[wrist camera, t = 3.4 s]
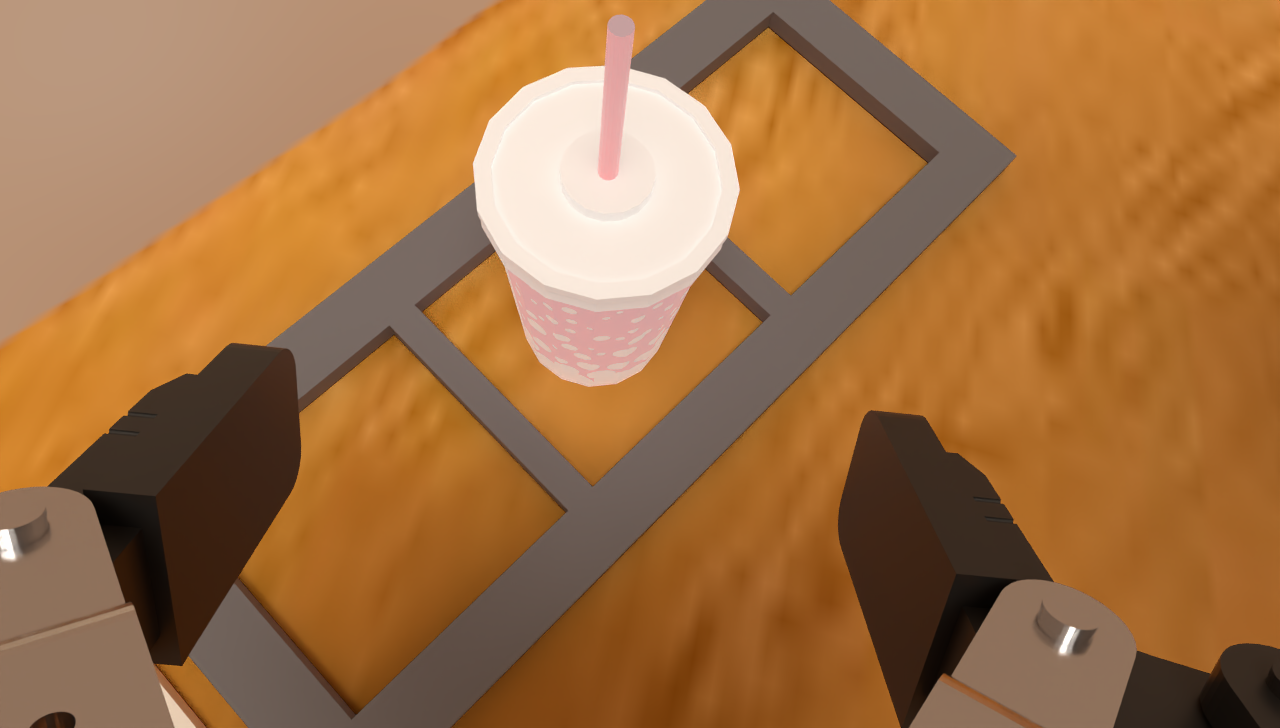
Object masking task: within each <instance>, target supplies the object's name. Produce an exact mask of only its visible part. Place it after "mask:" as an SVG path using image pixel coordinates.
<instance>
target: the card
mask: <svg viewBox="0 0 1280 728" xmlns="http://www.w3.org/2000/svg"><path fill="white" fill-rule="evenodd" d="M153 665H154V668H155V671H156V674H157V677H158V680H159V683H160V686H161V689H162V692H163V695H164V698H165V701H166V703H167V706H168V709H169V712H170V715H171V718H172V721H173V724H174V727H175V728H206V727H205V725H204V724H203V723H202V722H201V720H200V719H199V718H198V717H197V716H196V714H195V713H194V712H193V711H192V709H191V708H190V707H189V706H188V705H187V703H186V702H185V701H184V700H183V699H182V697H181V696H180V695H179V694H178V692H177V691H176V690H175V689H174V688H173V686H172V685H171V684H170V683H169V681H168V680H167V679H166V678H165V677H164V675H163V674H162V673H161V672H160V670H159V669H158V668H157V667H156V666H155V664H154V663H153Z"/></svg>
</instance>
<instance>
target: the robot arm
mask: <svg viewBox="0 0 1280 728" xmlns="http://www.w3.org/2000/svg"><path fill="white" fill-rule="evenodd" d="M300 459H301V438H300V422H299V407H298V392H297V376H296V364H295V359H294V356H293V354H292V352H291V351H290V350H289V349H287V348H277V347H267V346H258V345H248V344H238V343H231V344H229V345H228V346H226V347H225V348H224V349H223V350H222V351H221V352H220V353H219V354H218V355H217V356H216V357H215V358H214V359H213V360H212V361H211V362H210V363H209V364H208V365H207V366H206V367H205V368H204V369H203V370H202V371H201V372H200V373H199V374H198V375H194V374H185V375H183V376H180V377H178V378H176V379H174V380H172V381H170V382H168V383H165V384H163V385H161V386H159V387H157V388H155V389H153V390H151V391H150V392H149V393H147V394H146V395H145V396H144V397H143V398H142V399H141V400H140V401H139V402H138V403H137V404H136V405H135V406H133V407H132V408H131V409H130V410H129V411H128V416H123V417H122V418H121V419H119V420H118V421H117V422H116V423H115V424H114V425H113V426H112V427H111V428H110V429H109V434H105V433H104V434H103V435H102V436H101V437H100V438H99V439H98V440H97V441H96V442H95V443H94V444H93V445H91V446H90V447H89V448H88V449H87V450H86V451H85V452H84V453H83V454H82V455H81V456H80V457H79V458H77V459H76V460H75V461H74V462H73V463H72V464H71V465H70V466H69V467H68V468H67V469H66V470H65V471H63V472H62V473H61V474H60V475H59V476H58V477H57V478H56V479H55V480H54V481H53V482H52V483H51V484H49V485H48V486H47V487H30V488H21V489H15V490H10V491H5V492H1V493H0V728H175V727H174V724H173V721H172V718H171V715H170V712H169V709H168V706H167V703H166V701H165V698H164V695H163V692H162V689H161V686H160V683H159V680H158V677H157V674H156V671H155V668H154V665H153V663H154V664H166V665H178V666H182V665H183V664H184V662H185V660H186V659H187V657H188V656H189V654H190V652H191V651H192V649H193V648H194V646H195V645H196V643H197V641H198V640H199V638H200V637H201V635H202V633H203V632H204V630H205V629H206V627H207V625H208V624H209V622H210V621H211V619H212V617H213V616H214V614H215V613H216V611H217V609H218V608H219V606H220V605H221V603H222V601H223V600H224V598H225V597H226V595H227V593H228V592H229V590H230V589H231V587H232V585H233V584H234V582H235V581H236V579H237V577H238V576H239V574H240V573H241V571H242V570H243V568H244V566H245V565H246V563H247V562H248V560H249V558H250V557H251V555H252V554H253V552H254V550H255V549H256V547H257V546H258V544H259V542H260V541H261V539H262V538H263V536H264V534H265V533H266V531H267V530H268V528H269V526H270V525H271V523H272V522H273V520H274V518H275V517H276V515H277V514H278V512H279V510H280V509H281V507H282V506H283V504H284V503H285V501H286V499H287V498H288V496H289V495H290V493H291V491H292V489H293V487H294V485H295V482H296V479H297V475H298V471H299V466H300ZM1000 500H1001V499H1000V497H999V496H998V494H997V493H996V491H995V490H994V488H993V487H992V485H991V483H990V482H989V480H988V479H987V477H986V476H985V475H984V474H983V473H982V472H980V471H979V470H978V469H977V468H975V467H974V466H973V465H972V464H970V463H969V462H968V461H967V460H965V459H964V458H963V457H962V456H960V455H959V454H958V453H948V452H946V451H945V450H944V448H943V446H942V445H941V443H940V441H939V440H938V438H937V436H936V435H935V433H934V431H933V430H932V428H931V426H930V424H929V423H928V421H927V420H926V418H925V417H923V416H920V415H911V414H901V413H892V412H882V411H872V410H871V411H869V412H868V413H867V414H866V415H865V417H864V419H863V421H862V424H861V427H860V431H859V434H858V438H857V442H856V446H855V449H854V453H853V457H852V461H851V464H850V468H849V472H848V476H847V479H846V483H845V487H844V491H843V494H842V498H841V502H840V508H839V517H838V532H839V540H840V545H841V548H842V551H843V554H844V557H845V560H846V563H847V566H848V569H849V572H850V575H851V578H852V581H853V584H854V587H855V591H856V594H857V597H858V600H859V603H860V606H861V609H862V612H863V615H864V618H865V621H866V624H867V627H868V630H869V633H870V636H871V639H872V642H873V645H874V648H875V651H876V654H877V657H878V660H879V663H880V666H881V669H882V672H883V675H884V678H885V681H886V684H887V687H888V690H889V693H890V696H891V699H892V702H893V705H894V708H895V711H896V714H897V717H898V720H899V723H900V726H901V728H1280V649H1277V648H1274V647H1270V646H1265V645H1260V644H1249V643H1246V644H1237V645H1233V646H1230V647H1229V648H1227V649H1226V650H1225V651H1224V652H1223V653H1222V655H1221V656H1220V658H1219V660H1218V662H1217V664H1216V666H1215V667H1214V669H1213V671H1212V673H1211V674H1209V673H1206V672H1203V671H1200V670H1196V669H1193V668H1190V667H1187V666H1183V665H1180V664H1177V663H1174V662H1170V661H1167V660H1164V659H1161V658H1157V657H1154V656H1151V655H1148V654H1145V653H1142V652H1140V651H1137V648H1136V642H1135V640H1134V638H1133V635H1132V633H1131V632H1130V630H1129V629H1128V627H1127V626H1126V625H1125V624H1124V623H1123V621H1122V620H1121V619H1120V618H1119V617H1118V616H1117V615H1116V614H1114V613H1113V612H1112V611H1111V610H1110V609H1108V608H1107V607H1106V606H1104V605H1103V604H1102V603H1100V602H1099V601H1097V600H1095V599H1094V598H1092V597H1090V596H1088V595H1086V594H1084V593H1082V592H1080V591H1078V590H1076V589H1073V588H1071V587H1068V586H1065V585H1062V584H1059V583H1055V582H1054V581H1053V580H1052V578H1051V577H1050V575H1049V574H1048V572H1047V570H1046V569H1045V567H1044V566H1043V564H1042V563H1041V561H1040V560H1039V558H1038V556H1037V555H1036V553H1035V552H1034V550H1033V549H1032V547H1031V546H1030V544H1029V543H1028V541H1027V539H1026V538H1025V536H1024V535H1023V533H1022V532H1021V530H1020V529H1019V527H1018V525H1017V524H1013V518H1012V516H1011V515H1010V513H1009V511H1008V510H1007V508H1006V507H1005V505H1004V504H1000Z"/></svg>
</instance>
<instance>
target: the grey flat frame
mask: <svg viewBox="0 0 1280 728" xmlns="http://www.w3.org/2000/svg"><path fill="white" fill-rule="evenodd" d="M768 27H769V28H771V29H772V30H773V31H774V32H775V33H776V34H778V35H779V36H780V37H781V38H782V39H783V40H785V41H786V42H787V43H788V44H789V45H790V46H792V47H793V48H794V49H795V50H796V51H798V52H799V53H800V54H801V55H802V56H803V57H805V58H806V59H807V60H808V61H809V62H810V63H812V64H813V65H814V66H815V67H816V68H818V69H819V70H820V71H821V72H822V73H823V74H825V75H826V76H827V77H828V78H829V79H830V80H832V81H833V82H834V83H835V84H836V85H838V86H839V87H840V88H841V89H842V90H843V91H845V92H846V93H847V94H848V95H849V96H850V97H852V98H853V99H854V100H855V101H856V102H857V103H859V104H860V105H861V106H862V107H863V108H865V109H866V110H867V111H868V112H869V113H870V114H872V115H873V116H874V117H875V118H876V119H877V120H879V121H880V122H881V123H882V124H883V125H885V126H886V127H887V128H888V129H889V130H890V131H892V132H893V133H894V134H895V135H896V136H897V137H899V138H900V139H901V140H902V141H903V142H905V143H906V144H907V145H908V146H909V147H910V148H912V149H913V150H914V151H915V152H916V153H917V154H919V155H920V156H921V157H922V158H923V159H924V160H926V161H927V162H928V164H927V165H926V166H925V167H924V168H923V169H922V170H921V171H920V172H919V173H918V174H917V175H916V176H915V177H914V178H913V179H911V180H910V181H909V182H908V183H907V184H906V185H905V186H904V187H903V188H902V189H901V190H900V191H899V192H898V193H897V194H896V195H895V196H894V197H893V198H892V199H891V200H890V201H889V202H888V203H887V204H886V205H885V206H883V207H882V208H881V209H880V210H879V211H878V212H877V213H876V214H875V215H874V216H873V217H872V218H871V219H870V220H869V221H868V222H867V223H866V224H865V225H864V226H863V227H862V228H861V229H860V230H859V231H858V232H857V233H855V234H854V235H853V236H852V237H851V238H850V239H849V240H848V241H847V242H846V243H845V244H844V245H843V246H842V247H841V248H840V249H839V250H838V251H837V252H836V253H835V254H834V255H833V256H832V257H831V258H830V259H829V260H827V261H826V262H825V263H824V264H823V265H822V266H821V267H820V268H819V269H818V270H817V271H816V272H815V273H814V274H813V275H812V276H811V277H810V278H809V279H808V280H807V281H806V282H805V283H804V284H803V285H802V286H801V287H800V288H798V289H797V290H796V291H795V292H794V293H793V294H792V295H790V294H788V293H787V292H786V291H785V290H784V289H783V288H782V287H781V286H780V285H779V284H778V283H776V282H775V281H774V280H773V279H772V278H771V277H770V276H769V275H768V274H767V273H766V272H764V271H763V270H762V269H761V268H760V267H759V266H758V265H757V264H756V263H755V262H754V261H752V260H751V259H750V258H749V257H748V256H747V255H746V254H745V253H744V252H743V251H742V250H740V249H739V248H738V247H737V246H736V245H735V244H734V243H733V242H732V241H731V240H730V239H728V238H727V239H726V240H725V242H724V243H723V244H722V247H721V250H720V251H719V252H718V253H717V255H716V256H715V257H714V258H713V259H712V261H711V262H710V263H709V264H708V265H707V267H706V268H705V269H706V270H708V271H709V272H710V273H711V274H712V275H713V276H714V277H715V278H716V279H717V280H718V281H719V282H720V283H721V284H723V285H724V286H725V287H726V288H727V289H728V290H729V291H730V292H731V293H732V294H733V295H734V296H735V297H737V298H738V299H739V300H740V301H741V302H742V303H743V304H744V305H745V306H746V307H747V308H748V309H749V310H750V311H752V312H753V313H754V314H755V315H756V316H757V317H758V318H759V319H760V320H761V321H762V322H763V323H762V324H761V325H760V326H759V327H758V328H757V329H756V330H755V331H754V332H753V333H752V334H751V335H750V336H749V337H748V338H747V339H746V340H745V341H744V342H742V343H741V344H740V345H739V346H738V347H737V348H736V349H735V350H734V351H733V352H732V353H731V354H730V355H729V356H728V357H727V358H726V359H725V360H724V361H723V362H722V363H721V364H720V365H719V366H718V367H717V368H716V369H714V370H713V371H712V372H711V373H710V374H709V375H708V376H707V377H706V378H705V379H704V380H703V381H702V382H701V383H700V384H699V385H698V386H697V387H696V388H695V389H694V390H693V391H692V392H691V393H690V394H689V395H688V396H686V397H685V398H684V399H683V400H682V401H681V402H680V403H679V404H678V405H677V406H676V407H675V408H674V409H673V410H672V411H671V412H670V413H669V414H668V415H667V416H666V417H665V418H664V419H663V420H662V421H661V422H660V423H658V424H657V425H656V426H655V427H654V428H653V429H652V430H651V431H650V432H649V433H648V434H647V435H646V436H645V437H644V438H643V439H642V440H641V441H640V442H639V443H638V444H637V445H636V446H635V447H634V448H633V449H632V450H630V451H629V452H628V453H627V454H626V455H625V456H624V457H623V458H622V459H621V460H620V461H619V462H618V463H617V464H616V465H615V466H614V467H613V468H612V469H611V470H610V471H609V472H608V473H607V474H606V475H605V476H604V477H602V478H601V479H600V480H599V481H598V482H597V483H596V484H595V485H594V486H593V487H592V486H591V485H590V484H589V483H588V482H587V481H586V480H585V479H584V477H583V476H582V475H581V474H580V473H579V472H578V471H577V470H576V469H575V468H574V467H573V466H572V465H571V464H570V463H569V462H568V461H567V460H566V459H565V458H564V457H563V456H562V455H561V454H560V453H559V452H558V451H557V450H556V449H555V448H554V447H553V446H552V445H551V444H550V443H549V442H548V441H547V440H546V439H545V438H544V437H543V436H542V435H541V434H540V433H539V432H538V431H537V429H536V428H535V427H534V426H533V425H532V424H531V423H530V422H529V421H528V420H527V419H526V418H525V417H524V416H523V415H522V414H521V413H520V412H519V411H518V410H517V409H516V408H515V407H514V406H513V405H512V404H511V403H510V402H509V401H508V400H507V399H506V398H505V397H504V396H503V395H502V394H501V393H500V392H499V391H498V390H497V389H496V388H495V387H494V386H493V385H492V384H491V383H490V381H489V380H488V379H487V378H486V377H485V376H484V375H483V374H482V373H481V372H480V371H479V370H478V369H477V368H476V367H475V366H474V365H473V364H472V363H471V362H470V361H469V360H468V359H467V358H466V357H465V356H464V355H463V354H462V353H461V352H460V351H459V350H458V349H457V348H456V347H455V346H454V345H453V344H452V343H451V342H450V341H449V340H448V339H447V338H446V337H445V336H444V335H443V333H442V332H441V331H440V330H439V329H438V328H437V327H436V326H435V325H434V324H433V323H432V322H431V321H430V320H429V319H428V318H427V317H426V316H425V315H424V314H423V313H422V311H423V310H424V309H426V308H427V307H428V306H429V305H431V304H432V303H433V302H434V301H435V300H437V299H438V298H439V297H440V296H441V295H443V294H444V293H445V292H446V291H448V290H449V289H450V288H451V287H452V286H454V285H455V284H456V283H457V282H459V281H460V280H461V279H462V278H463V277H465V276H466V275H467V274H468V273H469V272H471V271H472V270H473V269H474V268H476V267H477V266H478V265H479V264H480V263H482V262H483V261H484V260H485V259H486V258H488V257H489V256H490V255H491V254H493V253H494V252H495V249H494V247H493V245H492V244H491V242H490V240H489V238H488V237H487V235H486V233H485V231H484V230H483V228H482V226H481V220H480V218H479V217H478V212H477V204H476V192H475V182H474V183H473V184H472V185H470V186H469V187H468V188H466V189H465V190H464V191H463V192H461V193H460V194H459V195H458V196H456V197H455V198H454V199H452V200H451V201H450V202H449V203H447V204H446V205H445V206H444V207H442V208H441V209H440V210H438V211H437V212H436V213H435V214H433V215H432V216H431V217H430V218H428V219H427V220H426V221H424V222H423V223H422V224H421V225H419V226H418V227H417V228H416V229H414V230H413V231H412V232H410V233H409V234H408V235H407V236H405V237H404V238H403V239H402V240H400V241H399V242H398V243H396V244H395V245H394V246H393V247H391V248H390V249H389V250H388V251H386V252H385V253H384V254H382V255H381V256H380V257H379V258H377V259H376V260H375V261H373V262H372V263H371V264H370V265H368V266H367V267H366V268H365V269H363V270H362V271H361V272H359V273H358V274H357V275H356V276H354V277H353V278H352V279H351V280H349V281H348V282H347V283H345V284H344V285H343V286H342V287H340V288H339V289H338V290H337V291H335V292H334V293H333V294H331V295H330V296H329V297H328V298H326V299H325V300H324V301H323V302H321V303H320V304H319V305H317V306H316V307H315V308H314V309H312V310H311V311H310V312H309V313H307V314H306V315H305V316H303V317H302V318H301V319H300V320H298V321H297V322H296V323H295V324H293V325H292V326H291V327H289V328H288V329H287V330H286V331H284V332H283V333H282V334H281V335H279V336H278V337H277V338H275V339H274V340H273V341H272V342H270V343H269V344H268V345H267V347H277V348H287V349H289V350H290V351H291V352H292V354H293V356H294V359H295V364H296V376H297V392H298V407H299V412H300V411H302V410H303V409H304V408H305V407H306V406H308V405H309V404H310V403H311V402H313V401H314V400H315V399H316V398H317V397H319V396H320V395H321V394H322V393H323V392H325V391H326V390H327V389H328V388H330V387H331V386H332V385H333V384H334V383H336V382H337V381H338V380H339V379H341V378H342V377H343V376H344V375H345V374H347V373H348V372H349V371H350V370H351V369H353V368H354V367H355V366H356V365H358V364H359V363H360V362H361V361H362V360H364V359H365V358H366V357H367V356H368V355H370V354H371V353H372V352H373V351H375V350H376V349H377V348H378V347H379V346H381V345H382V344H383V343H384V342H386V341H387V340H388V339H389V338H390V337H392V336H393V335H395V336H396V337H397V338H398V339H399V340H400V341H401V342H402V343H403V344H404V345H405V346H406V347H407V348H408V349H409V350H410V351H411V352H412V353H413V354H414V355H415V356H416V357H417V359H418V360H419V361H420V362H421V363H422V364H423V365H424V366H425V367H426V368H427V369H428V370H429V371H430V372H431V373H432V374H433V375H434V376H435V377H436V378H437V379H438V380H439V381H440V382H441V383H442V384H443V385H444V386H445V388H446V389H447V390H448V391H449V392H450V393H451V394H452V395H453V396H454V397H455V398H456V399H457V400H458V401H459V402H460V403H461V404H462V405H463V406H464V407H465V408H466V409H467V410H468V411H469V412H470V413H471V414H472V416H473V417H474V418H475V419H476V420H477V421H478V422H479V423H480V424H481V425H482V426H483V427H484V428H485V429H486V430H487V431H488V432H489V433H490V434H491V435H492V436H493V437H494V438H495V439H496V440H497V441H498V442H499V443H500V445H501V446H502V447H503V448H504V449H505V450H506V451H507V452H508V453H509V454H510V455H511V456H512V457H513V458H514V459H515V460H516V461H517V462H518V463H519V464H520V465H521V466H522V467H523V468H524V469H525V470H526V471H527V473H528V474H529V475H530V476H531V477H532V478H533V479H534V480H535V481H536V482H537V483H538V484H539V485H540V486H541V487H542V488H543V489H544V490H545V491H546V492H547V493H548V494H549V495H550V496H551V497H552V498H553V499H554V500H555V502H556V503H557V504H558V505H559V506H560V507H561V508H562V509H563V510H564V511H565V512H566V513H565V514H564V515H563V516H562V517H561V518H560V519H559V520H558V521H557V522H556V523H555V524H554V525H553V526H552V527H551V528H550V529H549V530H548V531H547V532H545V533H544V534H543V535H542V536H541V537H540V538H539V539H538V540H537V541H536V542H535V543H534V544H533V545H532V546H531V547H530V548H529V549H528V550H527V551H526V552H525V553H524V554H523V555H522V556H521V557H520V558H519V559H517V560H516V561H515V562H514V563H513V564H512V565H511V566H510V567H509V568H508V569H507V570H506V571H505V572H504V573H503V574H502V575H501V576H500V577H499V578H498V579H497V580H496V581H495V582H494V583H493V584H492V585H491V586H489V587H488V588H487V589H486V590H485V591H484V592H483V593H482V594H481V595H480V596H479V597H478V598H477V599H476V600H475V601H474V602H473V603H472V604H471V605H470V606H469V607H468V608H467V609H466V610H465V611H464V612H463V613H461V614H460V615H459V616H458V617H457V618H456V619H455V620H454V621H453V622H452V623H451V624H450V625H449V626H448V627H447V628H446V629H445V630H444V631H443V632H442V633H441V634H440V635H439V636H438V637H437V638H436V639H435V640H433V641H432V642H431V643H430V644H429V645H428V646H427V647H426V648H425V649H424V650H423V651H422V652H421V653H420V654H419V655H418V656H417V657H416V658H415V659H414V660H413V661H412V662H411V663H410V664H409V665H408V666H407V667H405V668H404V669H403V670H402V671H401V672H400V673H399V674H398V675H397V676H396V677H395V678H394V679H393V680H392V681H391V682H390V683H389V684H388V685H387V686H386V687H385V688H384V689H383V690H382V691H381V692H380V693H379V694H377V695H376V696H375V697H374V698H373V699H372V700H371V701H370V702H369V703H368V704H367V705H366V706H365V707H364V708H363V709H362V710H361V711H360V712H359V713H358V714H357V715H355V713H354V712H353V711H352V710H351V709H350V708H349V706H348V705H347V704H346V703H345V702H344V701H343V699H342V698H341V697H340V696H339V695H338V694H337V692H336V691H335V690H334V689H333V688H332V687H331V686H330V684H329V683H328V682H327V681H326V680H325V679H324V677H323V676H322V675H321V674H320V673H319V672H318V670H317V669H316V668H315V667H314V666H313V665H312V663H311V662H310V661H309V660H308V659H307V658H306V656H305V655H304V654H303V653H302V652H301V651H300V649H299V648H298V647H297V646H296V645H295V644H294V643H293V641H292V640H291V639H290V638H289V637H288V636H287V634H286V633H285V632H284V631H283V630H282V629H281V627H280V626H279V625H278V624H277V623H276V622H275V620H274V619H273V618H272V617H271V616H270V615H269V613H268V612H267V611H266V610H265V609H264V608H263V606H262V605H261V604H260V603H259V602H258V601H257V600H256V598H255V597H254V596H253V595H252V594H251V593H250V591H249V590H248V589H247V588H246V587H245V586H244V584H243V583H242V582H241V581H240V580H239V579H238V577H237V579H236V581H235V582H234V584H233V585H232V587H231V589H230V590H229V592H228V593H227V595H226V597H225V598H224V600H223V601H222V603H221V605H220V606H219V608H218V609H217V611H216V613H215V614H214V616H213V617H212V619H211V621H210V622H209V624H208V625H207V627H206V629H205V630H204V632H203V633H202V635H201V637H200V638H199V640H198V641H197V643H196V645H195V646H194V648H193V649H192V651H191V652H190V654H189V657H190V658H191V659H192V660H193V662H194V663H195V664H196V665H197V666H198V668H199V669H200V670H201V671H202V672H203V674H204V675H205V676H206V677H207V679H208V680H209V681H210V682H211V683H212V685H213V686H214V687H215V688H216V689H217V691H218V692H219V693H220V694H221V695H222V697H223V698H224V699H225V700H226V701H227V703H228V704H229V705H230V706H231V707H232V709H233V710H234V711H235V712H236V713H237V715H238V716H239V717H240V718H241V719H242V721H243V722H244V723H245V724H246V726H247V727H248V728H451V727H452V726H453V725H454V724H455V723H456V722H457V721H458V720H459V719H460V718H461V717H462V716H463V715H464V714H465V713H466V712H467V711H468V710H469V709H470V708H471V707H472V706H473V705H474V704H475V703H476V702H477V701H478V700H479V699H480V698H481V697H482V696H483V695H484V694H485V693H486V692H487V691H488V690H489V689H490V688H491V687H492V686H493V685H494V684H495V683H496V682H497V681H498V680H499V679H500V678H501V677H502V676H503V675H504V674H505V673H506V672H507V671H508V670H509V669H510V668H511V667H512V666H513V665H514V663H515V662H516V661H517V660H518V659H519V658H520V657H521V656H522V655H523V654H524V653H525V652H526V651H527V650H528V649H529V648H530V647H531V646H532V645H533V644H534V643H535V642H536V641H537V640H538V639H539V638H540V637H541V636H542V635H543V634H544V633H545V632H546V631H547V630H548V629H549V628H550V627H551V626H552V625H553V624H554V623H555V622H556V621H557V620H558V619H559V618H560V617H561V616H562V615H563V614H564V613H565V612H566V611H567V610H568V609H569V608H570V607H571V606H572V605H573V604H574V603H575V602H576V601H577V600H578V599H579V598H580V597H581V596H582V595H583V594H584V593H585V592H586V591H587V590H588V589H589V588H590V587H591V586H592V585H593V584H594V583H595V582H596V581H597V580H598V579H599V578H600V577H601V576H602V575H603V574H604V573H605V572H606V571H607V570H608V569H609V568H610V567H611V566H612V565H613V564H614V563H615V562H616V561H617V560H618V559H619V558H620V557H621V556H622V555H623V554H624V553H625V552H626V551H627V550H628V549H629V548H630V547H631V545H632V544H633V543H634V542H635V541H636V540H637V539H638V538H639V537H640V536H641V535H642V534H643V533H644V532H645V531H646V530H647V529H648V528H649V527H650V526H651V525H652V524H653V523H654V522H655V521H656V520H657V519H658V518H659V517H660V516H661V515H662V514H663V513H664V512H665V511H666V510H667V509H668V508H669V507H670V506H671V505H672V504H673V503H674V502H675V501H676V500H677V499H678V498H679V497H680V496H681V495H682V494H683V493H684V492H685V491H686V490H687V489H688V488H689V487H690V486H691V485H692V484H693V483H694V482H695V481H696V480H697V479H698V478H699V477H700V476H701V475H702V474H703V473H704V472H705V471H706V470H707V469H708V468H709V467H710V466H711V465H712V464H713V463H714V462H715V461H716V460H717V459H718V458H719V457H720V456H721V455H722V454H723V453H724V452H725V451H726V450H727V449H728V448H729V447H730V446H731V445H732V444H733V443H734V442H735V441H736V440H737V439H738V438H739V437H740V436H741V435H742V434H743V433H744V432H745V431H746V430H747V429H748V428H749V426H750V425H751V424H752V423H753V422H754V421H755V420H756V419H757V418H758V417H759V416H760V415H761V414H762V413H763V412H764V411H765V410H766V409H767V408H768V407H769V406H770V405H771V404H772V403H773V402H774V401H775V400H776V399H777V398H778V397H779V396H780V395H781V394H782V393H783V392H784V391H785V390H786V389H787V388H788V387H789V386H790V385H791V384H792V383H793V382H794V381H795V380H796V379H797V378H798V377H799V376H800V375H801V374H802V373H803V372H804V371H805V370H806V369H807V368H808V367H809V366H810V365H811V364H812V363H813V362H814V361H815V360H816V359H817V358H818V357H819V356H820V355H821V354H822V353H823V352H824V351H825V350H826V349H827V348H828V347H829V346H830V345H831V344H832V343H833V342H834V341H835V340H836V339H837V338H838V337H839V336H840V335H841V334H842V333H843V332H844V331H845V330H846V329H847V328H848V327H849V326H850V325H851V324H852V323H853V322H854V321H855V320H856V319H857V318H858V317H859V316H860V315H861V314H862V313H863V312H864V311H865V310H866V309H867V307H868V306H869V305H870V304H871V303H872V302H873V301H874V300H875V299H876V298H877V297H878V296H879V295H880V294H881V293H882V292H883V291H884V290H885V289H886V288H887V287H888V286H889V285H890V284H891V283H892V282H893V281H894V280H895V279H896V278H897V277H898V276H899V275H900V274H901V273H902V272H903V271H904V270H905V269H906V268H907V267H908V266H909V265H910V264H911V263H912V262H913V261H914V260H915V259H916V258H917V257H918V256H919V255H920V254H921V253H922V252H923V251H924V250H925V249H926V248H927V247H928V246H929V245H930V244H931V243H932V242H933V241H934V240H935V239H936V238H937V237H938V236H939V235H940V234H941V233H942V232H943V231H944V230H945V229H946V228H947V227H948V226H949V225H950V224H951V223H952V222H953V221H954V220H955V219H956V218H957V217H958V216H959V215H960V214H961V213H962V212H963V211H964V210H965V209H966V208H967V207H968V206H969V205H970V204H971V203H972V202H973V201H974V200H975V199H976V198H977V197H978V196H979V195H980V194H981V193H982V192H983V191H984V190H985V188H986V187H987V186H988V185H989V184H990V183H991V182H992V181H993V180H994V179H995V178H996V177H997V176H998V175H999V174H1000V173H1001V172H1002V171H1003V170H1004V169H1005V168H1006V167H1007V166H1008V165H1009V164H1010V163H1011V162H1012V161H1013V160H1014V158H1015V157H1016V155H1015V154H1014V153H1013V152H1011V151H1010V150H1009V149H1008V148H1007V147H1005V146H1004V145H1003V144H1002V143H1001V142H999V141H998V140H997V139H996V138H995V137H993V136H992V135H991V134H990V133H989V132H987V131H986V130H985V129H984V128H983V127H981V126H980V125H979V124H978V123H977V122H975V121H974V120H973V119H972V118H971V117H969V116H968V115H967V114H966V113H964V112H963V111H962V110H961V109H960V108H958V107H957V106H956V105H955V104H954V103H952V102H951V101H950V100H949V99H948V98H946V97H945V96H944V95H943V94H942V93H940V92H939V91H938V90H937V89H936V88H934V87H933V86H932V85H931V84H930V83H928V82H927V81H926V80H925V79H924V78H922V77H921V76H920V75H919V74H918V73H916V72H915V71H914V70H913V69H911V68H910V67H909V66H908V65H907V64H905V63H904V62H903V61H902V60H901V59H899V58H898V57H897V56H896V55H895V54H893V53H892V52H891V51H890V50H889V49H887V48H886V47H885V46H884V45H883V44H881V43H880V42H879V41H878V40H877V39H875V38H874V37H873V36H872V35H871V34H869V33H868V32H867V31H866V30H865V29H863V28H862V27H861V26H860V25H858V24H857V23H856V22H855V21H854V20H852V19H851V18H850V17H849V16H848V15H846V14H845V13H844V12H843V11H842V10H840V9H839V8H838V7H837V6H836V5H834V4H833V3H832V2H831V1H830V0H706V1H705V2H703V3H702V4H701V5H700V6H698V7H697V8H696V9H694V10H693V11H692V12H691V13H689V14H688V15H687V16H686V17H684V18H683V19H682V20H680V21H679V22H678V23H677V24H675V25H674V26H673V27H672V28H670V29H669V30H668V31H666V32H665V33H664V34H663V35H661V36H660V37H659V38H658V39H656V40H655V41H654V42H652V43H651V44H650V45H649V46H647V47H646V48H645V49H644V50H642V51H641V52H640V53H638V54H637V55H636V56H635V57H633V58H632V59H631V65H630V69H633V70H636V71H640V72H644V73H647V74H651V75H654V76H658V77H662V78H665V79H667V80H668V81H669V82H671V83H672V84H674V85H675V86H677V87H678V88H680V89H681V90H682V91H684V92H685V93H688V92H690V91H691V90H692V89H693V88H695V87H696V86H697V85H698V84H699V83H701V82H702V81H703V80H704V79H705V78H707V77H708V76H709V75H710V74H712V73H713V72H714V71H715V70H716V69H718V68H719V67H720V66H721V65H723V64H724V63H725V62H726V61H727V60H729V59H730V58H731V57H732V56H733V55H735V54H736V53H737V52H738V51H740V50H741V49H742V48H743V47H744V46H746V45H747V44H748V43H749V42H750V41H752V40H753V39H754V38H755V37H757V36H758V35H759V34H760V33H761V32H763V31H764V30H765V29H766V28H768Z"/></svg>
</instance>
